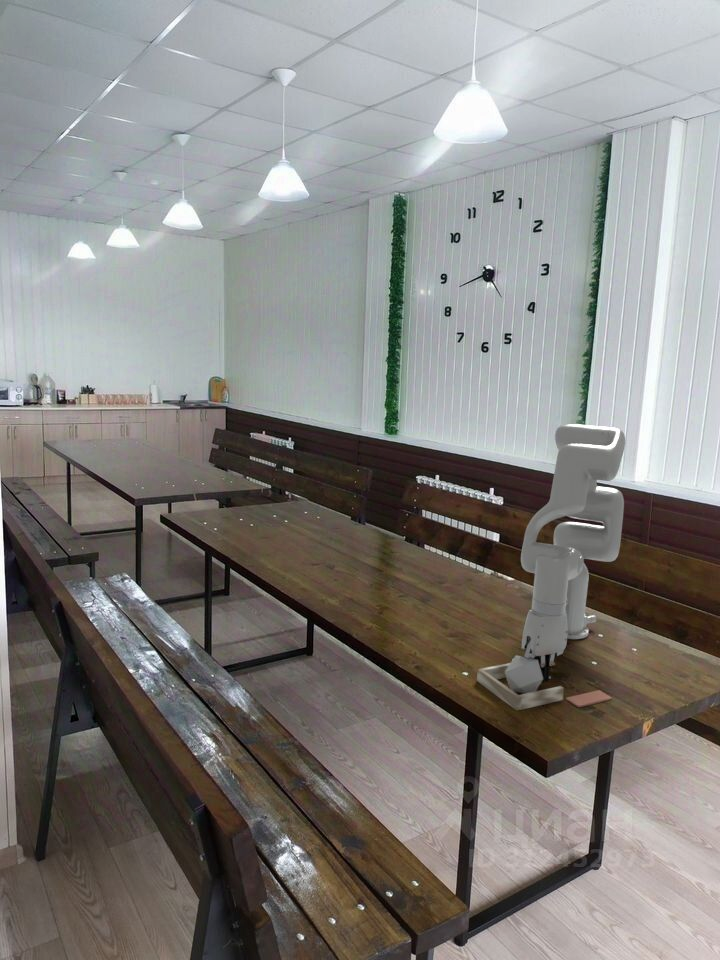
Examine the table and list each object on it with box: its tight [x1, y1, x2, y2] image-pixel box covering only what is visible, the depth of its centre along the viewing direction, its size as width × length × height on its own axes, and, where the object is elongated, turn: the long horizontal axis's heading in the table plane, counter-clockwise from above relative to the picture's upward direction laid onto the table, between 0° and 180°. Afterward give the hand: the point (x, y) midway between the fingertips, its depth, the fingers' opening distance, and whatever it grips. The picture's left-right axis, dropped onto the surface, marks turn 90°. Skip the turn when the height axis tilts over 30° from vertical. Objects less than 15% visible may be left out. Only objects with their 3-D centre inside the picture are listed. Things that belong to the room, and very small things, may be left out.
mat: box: [565, 689, 613, 708], centre depth 163 cm, size 10×4×1 cm, turn 116°
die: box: [505, 655, 543, 695], centre depth 165 cm, size 8×9×10 cm
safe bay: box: [476, 662, 565, 712], centre depth 165 cm, size 13×15×3 cm
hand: (541, 679), depth 168 cm, fingers closed
